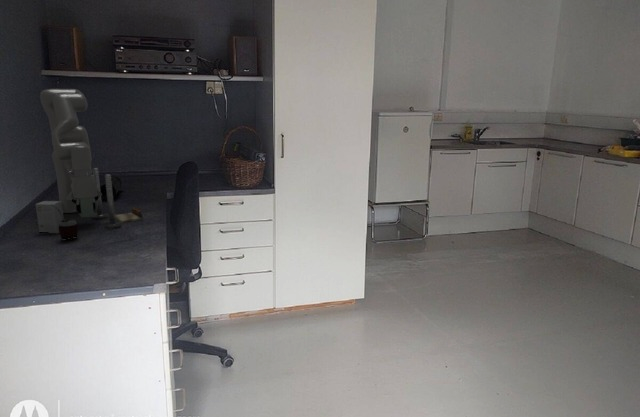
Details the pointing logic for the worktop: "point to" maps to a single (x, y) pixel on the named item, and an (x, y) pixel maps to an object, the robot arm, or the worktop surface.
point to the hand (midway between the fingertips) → (86, 211)
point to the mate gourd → (67, 227)
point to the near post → (110, 204)
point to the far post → (98, 203)
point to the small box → (49, 216)
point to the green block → (86, 207)
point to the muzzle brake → (115, 186)
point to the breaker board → (129, 216)
